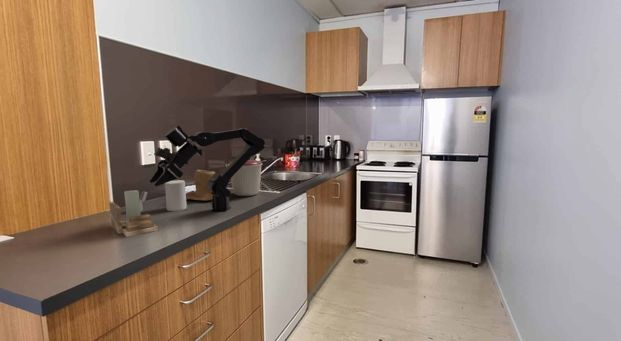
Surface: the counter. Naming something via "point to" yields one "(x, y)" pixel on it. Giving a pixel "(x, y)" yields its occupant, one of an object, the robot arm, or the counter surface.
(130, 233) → the rack
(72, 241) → the counter surface
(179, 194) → the cup
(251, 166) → the canister
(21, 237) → the counter surface
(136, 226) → the offcut stack
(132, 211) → the pale green upright block
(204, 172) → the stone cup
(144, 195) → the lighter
